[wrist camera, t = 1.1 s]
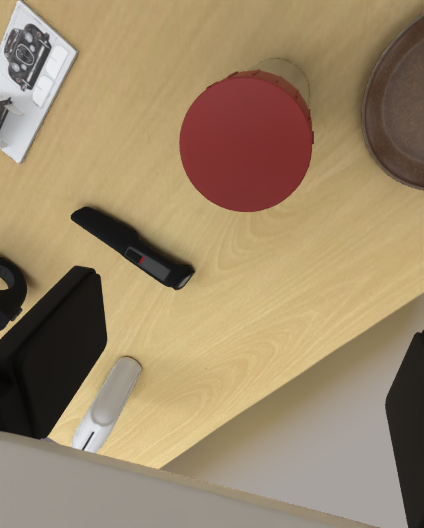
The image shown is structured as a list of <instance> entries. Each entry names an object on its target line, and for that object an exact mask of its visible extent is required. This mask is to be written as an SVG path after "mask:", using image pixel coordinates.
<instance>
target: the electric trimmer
mask: <svg viewBox="0 0 424 528" xmlns="http://www.w3.org/2000/svg"><path fill="white" fill-rule="evenodd" d="M71 220H72V221H74V222H75V223H77V224H78V225H80V226H81V227H82V228H84V229H85V230H87V231H88V232H90V233H91V234H93V235H94V236H96V237H97V238H98V239H100V240H101V241H103V242H104V243H106V244H107V245H109V246H110V247H111V248H113V249H114V250H116V251H117V252H119V253H120V254H121V255H122V256H123V257H125V258H126V259H127V260H129V261H130V262H132V263H133V264H134V265H136V266H137V267H139V268H140V269H142V270H143V271H144V272H146V273H147V274H149V275H150V276H152V277H153V278H154V279H156V280H157V281H159V282H160V283H162V284H163V285H165V286H167V287H172V288H173V289H174V290H179V289H181V288H183V287H184V286H185V284H186V283H187V282H188V281H189V279H190V278H191V277H192V275H193V274H194V273H195V271H194V270H192V266H190V265H179V264H178V263H176V262H175V261H173V260H172V259H170V258H168V257H167V256H165V255H164V254H162V253H161V252H159V251H157V250H156V249H154V248H153V247H151V246H150V245H148V244H146V243H145V242H143V241H142V240H140V239H139V237H138V235H137V233H136V231H135V230H133V229H131V228H130V227H128V226H126V225H124V224H122V223H120V222H118V221H116V220H114V219H112V218H110V217H108V216H106V215H104V214H102V213H100V212H98V211H96V210H94V209H92V208H90V207H83V208H81V209H79V210H77V211H75V212H74V213H73V214H72V215H71Z"/></svg>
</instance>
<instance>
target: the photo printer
mask: <svg viewBox="0 0 424 528" xmlns="http://www.w3.org/2000/svg"><path fill="white" fill-rule="evenodd" d="M140 372H141V367H140V365H139V363H138V362H137V361H135V360H134V359H132V358H129V357H124V358H123V357H121V358H120V359H119V360H118V361H117V362H116V364H115V365H114V367H113V368H112V369H111V371H110V373H109V375H108V376H107V378H106V380H105V382H104V383H103V385H102V387H101V388H100V390H99V392H98V394H97V395H96V397H95V399H94V400H93V402H92V404H91V405H90V407H89V409H88V410H87V412H86V414H85V415H84V417H83V419H82V420H81V422H80V424H79V425H78V427H77V429H76V431H75V433H74V436H73V440H72V448H76V449H80V450H84V451H88V452H92V453H96V452H97V451H98V450H99V449H100V448H101V447H102V445H103V444H104V442H105V441H106V439H107V438H108V436H109V435H110V433H111V431H112V429H113V427H114V426H115V424H116V422H117V420H118V418H119V416H120V414H121V412H122V410H123V408H124V406H125V404H126V402H127V400H128V398H129V396H130V394H131V392H132V390H133V388H134V386H135V384H136V381H137V379H138V377H139V375H140Z"/></svg>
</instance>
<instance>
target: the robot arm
mask: <svg viewBox="0 0 424 528" xmlns="http://www.w3.org/2000/svg"><path fill="white" fill-rule="evenodd" d="M106 344H107V331H106V322H105V313H104V304H103V294H102V285H101V277H100V275H99V274H96V271H95V269H93V268H88V267H82V266H74V267H73V268H72V269H71V270H70V271H69V272H68V273H67V274H66V275H65V276H64V277H63V278H62V279H61V280H60V281H59V282H58V283H57V284H56V285H55V286H54V287H53V288H52V289H51V290H49V291H48V292H47V293H46V294H45V295H44V296H43V297H42V298H41V299H40V300H39V301H38V302H37V303H36V304H35V305H34V306H33V307H32V308H31V309H30V310H29V311H28V312H27V313H26V314H25V315H24V316H23V317H22V318H21V319H20V320H19V321H18V322H17V323H16V324H15V325H14V326H13V327H12V328H11V329H10V330H9V331H8V332H7V333H6V334H5V335H4V336H3V337H2V338H1V339H0V528H379V527H375V526H372V525H368V524H365V523H361V522H357V521H354V520H350V519H346V518H342V517H339V516H335V515H331V514H327V513H323V512H320V511H316V510H312V509H308V508H305V507H301V506H297V505H293V504H289V503H286V502H282V501H278V500H274V499H271V498H267V497H263V496H259V495H255V494H251V493H248V492H244V491H240V490H236V489H232V488H228V487H224V486H221V485H217V484H213V483H209V482H205V481H201V480H197V479H194V478H189V477H186V476H181V475H178V474H174V473H170V472H166V471H162V470H159V469H155V468H151V467H147V466H143V465H139V464H135V463H131V462H127V461H123V460H119V459H115V458H111V457H107V456H103V455H99V454H96V453H92V452H88V451H84V450H80V449H76V448H72V447H68V446H64V445H60V444H55V443H51V442H47V441H43V440H40V439H41V438H43V439H44V438H46V437H47V436H48V435H49V434H50V432H51V431H52V429H53V428H54V426H55V424H56V423H57V421H58V420H59V418H60V417H61V415H62V414H63V412H64V411H65V409H66V408H67V406H68V405H69V403H70V401H71V400H72V398H73V397H74V395H75V394H76V392H77V391H78V389H79V388H80V386H81V385H82V383H83V381H84V380H85V378H86V377H87V375H88V374H89V372H90V371H91V369H92V368H93V366H94V365H95V363H96V361H97V360H98V358H99V357H100V355H101V354H102V352H103V351H104V349H105V347H106ZM385 409H386V415H387V420H388V424H389V430H390V435H391V441H392V446H393V451H394V456H395V461H396V467H397V472H398V477H399V482H400V487H401V492H402V497H403V503H404V508H405V513H406V519H407V524H408V528H424V330H423V331H422V333H419V332H417V333H416V334H415V335H414V337H413V339H412V341H411V343H410V346H409V348H408V350H407V352H406V355H405V357H404V359H403V361H402V364H401V366H400V368H399V370H398V373H397V375H396V377H395V379H394V381H393V384H392V386H391V388H390V390H389V393H388V395H387V398H386V404H385Z"/></svg>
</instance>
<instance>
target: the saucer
mask: <svg viewBox="0 0 424 528" xmlns="http://www.w3.org/2000/svg"><path fill="white" fill-rule="evenodd" d="M361 121H362V131H363V136H364V140H365V143H366V146H367V148H368V150H369V152H370V154H371V156H372V158H373V159H374V161H375V162H376V163H377V165H378V166H379V167H380V168H381V169H382V170H383V171H384V172H385V173H387V174H388V175H389V176H390V177H392V178H393V179H395V180H396V181H398V182H400V183H402V184H404V185H406V186H409V187H411V188H415V189H419V190H424V13H423V14H421V15H420V16H419V17H417V18H416V19H415V20H413V21H412V22H411V23H410V24H409V25H407V26H406V27H405V28H404V29H403V30H402V31H401V32H400V33H399V34H398V35H397V36H396V37H395V38H394V40H393V41H392V42H391V43H390V44H389V46H388V47H387V48H386V50H385V51H384V52H383V54H382V56H381V57H380V59H379V60H378V62H377V64H376V66H375V67H374V69H373V71H372V73H371V76H370V78H369V81H368V83H367V86H366V90H365V93H364V98H363V103H362V113H361Z"/></svg>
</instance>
